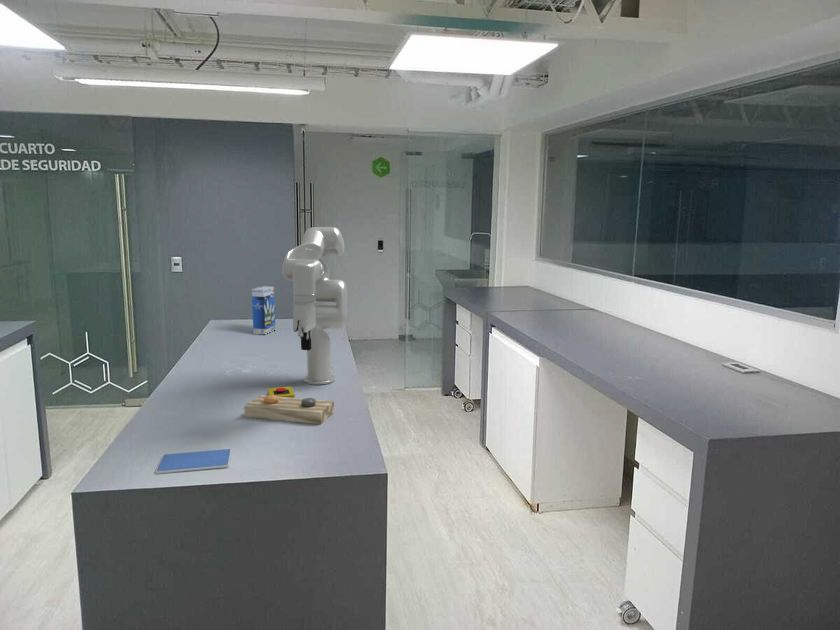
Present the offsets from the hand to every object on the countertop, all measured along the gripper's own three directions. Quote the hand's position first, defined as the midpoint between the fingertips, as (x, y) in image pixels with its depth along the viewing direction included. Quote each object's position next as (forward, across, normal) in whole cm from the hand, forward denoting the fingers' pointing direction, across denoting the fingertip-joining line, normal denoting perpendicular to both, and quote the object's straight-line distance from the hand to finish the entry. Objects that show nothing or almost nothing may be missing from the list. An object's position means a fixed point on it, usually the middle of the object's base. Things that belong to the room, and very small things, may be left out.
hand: (306, 349), depth 214 cm
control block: (+21, +8, -3) cm, 23 cm away
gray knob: (+21, +9, +4) cm, 23 cm away
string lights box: (+28, -115, -75) cm, 140 cm away
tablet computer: (+20, +51, -12) cm, 57 cm away
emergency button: (+23, -7, -14) cm, 28 cm away
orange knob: (+21, +8, -10) cm, 25 cm away
